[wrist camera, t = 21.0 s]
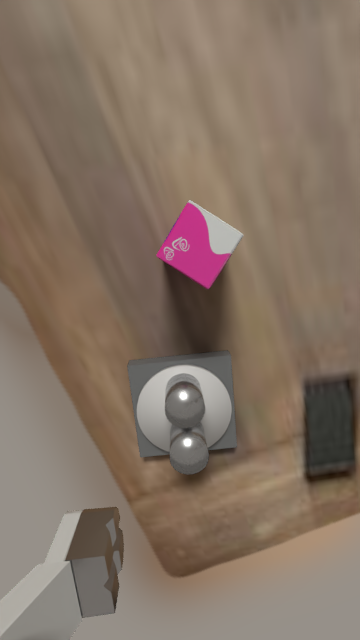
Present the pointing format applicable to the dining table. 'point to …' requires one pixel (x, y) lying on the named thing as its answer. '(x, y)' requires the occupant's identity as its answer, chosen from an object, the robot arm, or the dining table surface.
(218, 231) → the supplement box
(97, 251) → the dining table surface
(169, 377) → the scale
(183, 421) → the cylinder
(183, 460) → the cylinder
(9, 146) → the dining table surface
